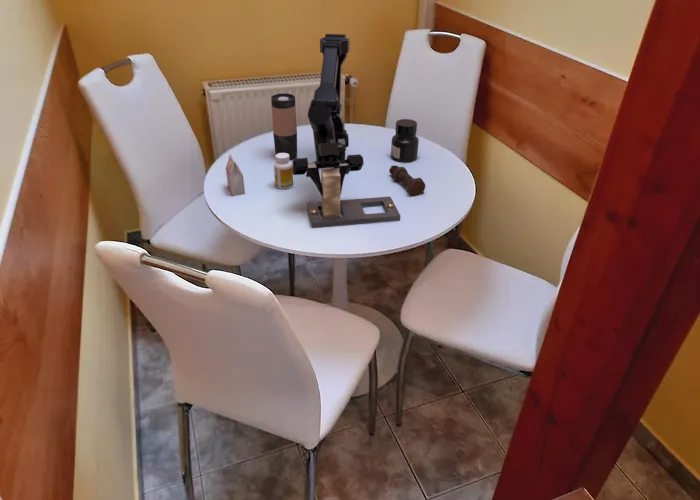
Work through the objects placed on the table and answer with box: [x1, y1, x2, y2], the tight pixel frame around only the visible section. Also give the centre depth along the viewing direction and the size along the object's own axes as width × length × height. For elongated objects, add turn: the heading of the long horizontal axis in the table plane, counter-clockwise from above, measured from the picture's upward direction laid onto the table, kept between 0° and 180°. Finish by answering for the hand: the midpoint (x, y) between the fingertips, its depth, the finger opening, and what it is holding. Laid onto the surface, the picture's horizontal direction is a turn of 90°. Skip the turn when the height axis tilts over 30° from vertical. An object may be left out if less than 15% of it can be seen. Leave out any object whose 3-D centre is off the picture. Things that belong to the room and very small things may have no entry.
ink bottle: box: [390, 118, 420, 163], centre depth 175 cm, size 10×9×12 cm
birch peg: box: [320, 168, 341, 218], centre depth 142 cm, size 4×4×13 cm
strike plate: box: [306, 195, 401, 229], centre depth 146 cm, size 24×11×2 cm, turn 101°
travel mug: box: [270, 92, 298, 162], centre depth 172 cm, size 8×8×20 cm
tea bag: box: [225, 154, 246, 197], centre depth 155 cm, size 4×7×10 cm, turn 22°
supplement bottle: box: [273, 153, 294, 190], centre depth 158 cm, size 5×5×10 cm
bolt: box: [388, 165, 426, 197], centre depth 161 cm, size 6×5×15 cm
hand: (331, 195), depth 142 cm, fingers closed on birch peg, 4 cm apart
